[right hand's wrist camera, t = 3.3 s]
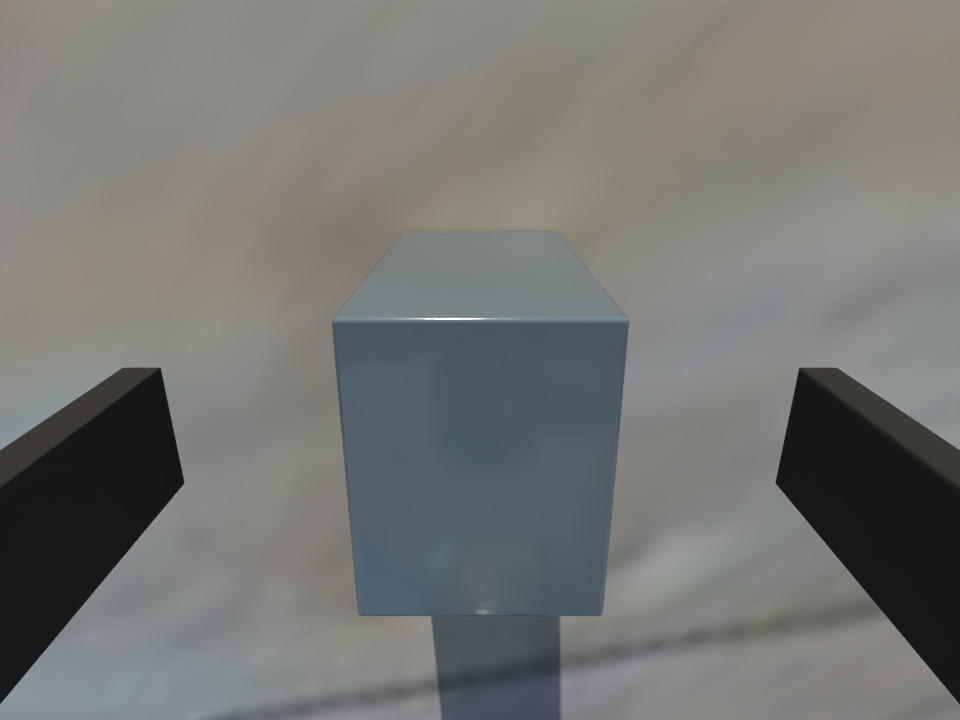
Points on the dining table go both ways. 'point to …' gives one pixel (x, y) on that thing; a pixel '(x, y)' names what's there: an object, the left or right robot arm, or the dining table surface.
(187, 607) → the dining table surface
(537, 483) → the brick
